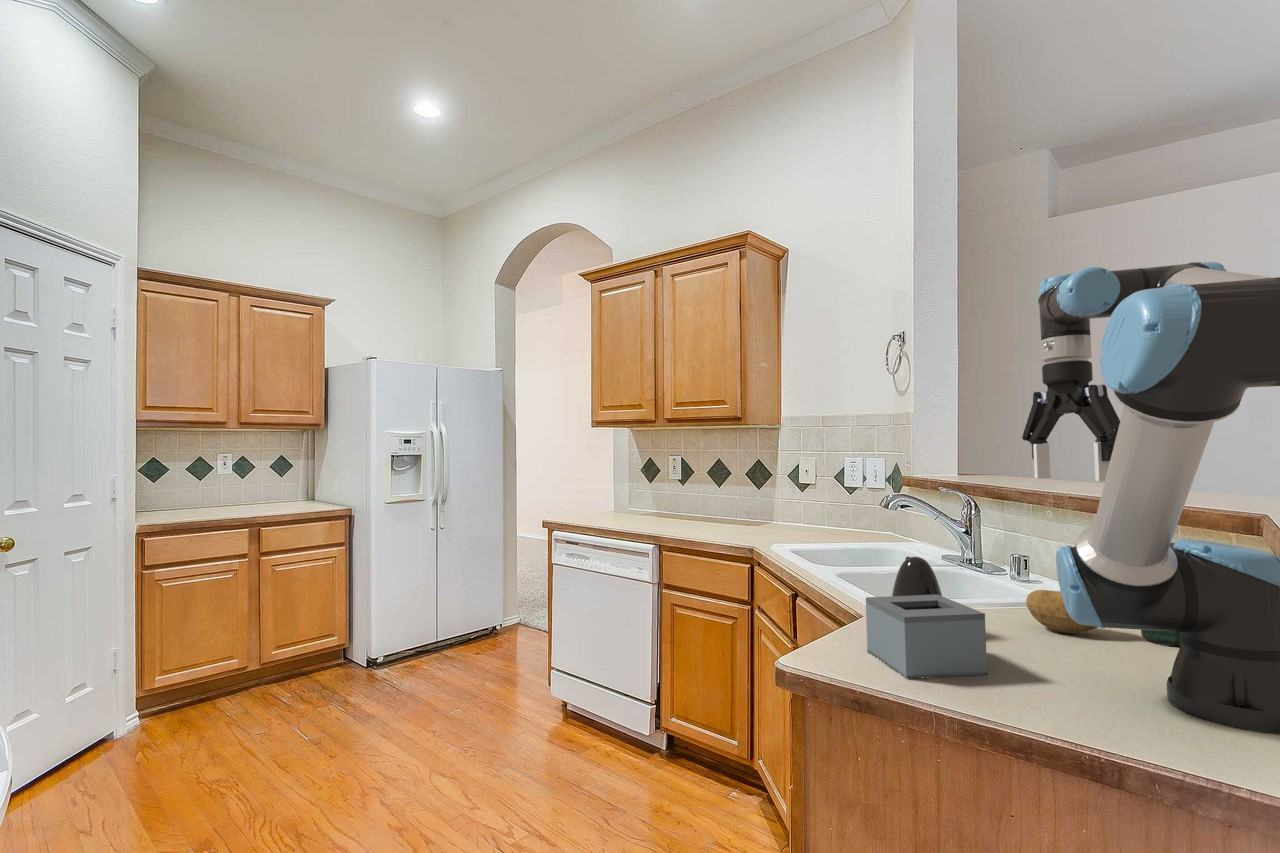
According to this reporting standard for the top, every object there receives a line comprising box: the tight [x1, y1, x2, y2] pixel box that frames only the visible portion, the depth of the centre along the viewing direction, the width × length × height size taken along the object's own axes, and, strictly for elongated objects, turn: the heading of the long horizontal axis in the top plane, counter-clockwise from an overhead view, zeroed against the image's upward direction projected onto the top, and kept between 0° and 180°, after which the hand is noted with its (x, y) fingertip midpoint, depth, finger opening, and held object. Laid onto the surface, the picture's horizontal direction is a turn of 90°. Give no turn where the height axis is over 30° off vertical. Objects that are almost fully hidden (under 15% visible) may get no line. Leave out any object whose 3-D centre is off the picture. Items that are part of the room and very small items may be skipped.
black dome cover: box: [891, 556, 943, 597], centre depth 129 cm, size 10×10×15 cm
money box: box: [865, 594, 988, 679], centre depth 111 cm, size 14×14×10 cm
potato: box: [1025, 589, 1099, 634], centre depth 127 cm, size 10×14×8 cm
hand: (1071, 479), depth 113 cm, fingers open, 13 cm apart
